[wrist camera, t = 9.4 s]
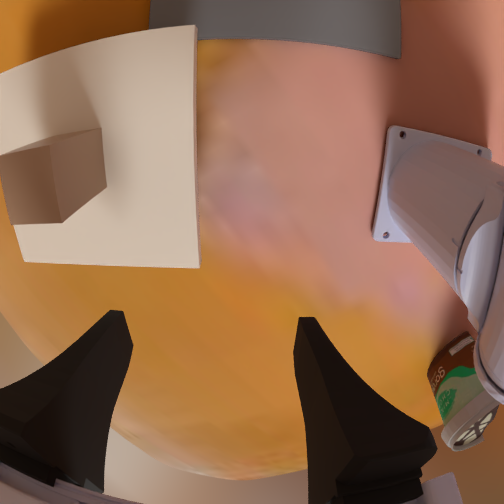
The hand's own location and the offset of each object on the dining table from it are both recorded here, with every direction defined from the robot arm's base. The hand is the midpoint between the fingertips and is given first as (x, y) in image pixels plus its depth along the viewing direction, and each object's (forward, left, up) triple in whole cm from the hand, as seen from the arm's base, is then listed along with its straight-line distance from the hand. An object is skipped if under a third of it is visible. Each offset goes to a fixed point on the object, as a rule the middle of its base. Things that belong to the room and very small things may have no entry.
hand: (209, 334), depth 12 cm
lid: (+7, -6, -5) cm, 11 cm away
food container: (-24, +16, -10) cm, 30 cm away
